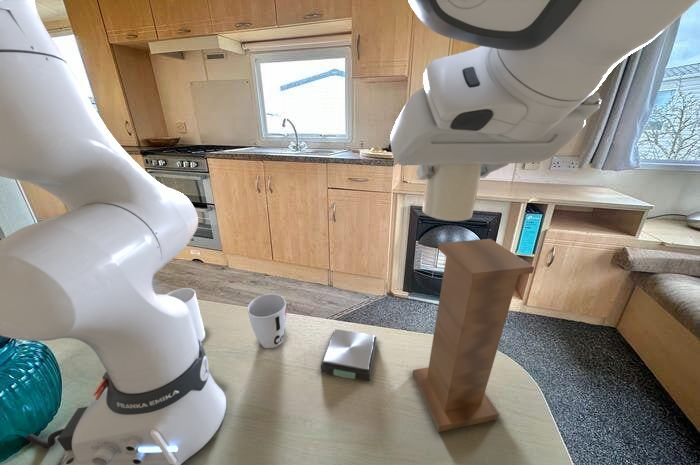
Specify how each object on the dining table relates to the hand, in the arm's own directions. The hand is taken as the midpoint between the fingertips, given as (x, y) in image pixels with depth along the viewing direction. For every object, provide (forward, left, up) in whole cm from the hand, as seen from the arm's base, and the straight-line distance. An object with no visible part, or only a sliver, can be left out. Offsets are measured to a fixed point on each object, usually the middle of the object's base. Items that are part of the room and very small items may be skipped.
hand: (450, 174), depth 38 cm
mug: (-48, +19, -41) cm, 66 cm away
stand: (+5, -4, -41) cm, 41 cm away
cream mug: (0, +1, -5) cm, 5 cm away
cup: (-29, +17, -41) cm, 53 cm away
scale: (-12, +8, -41) cm, 43 cm away
